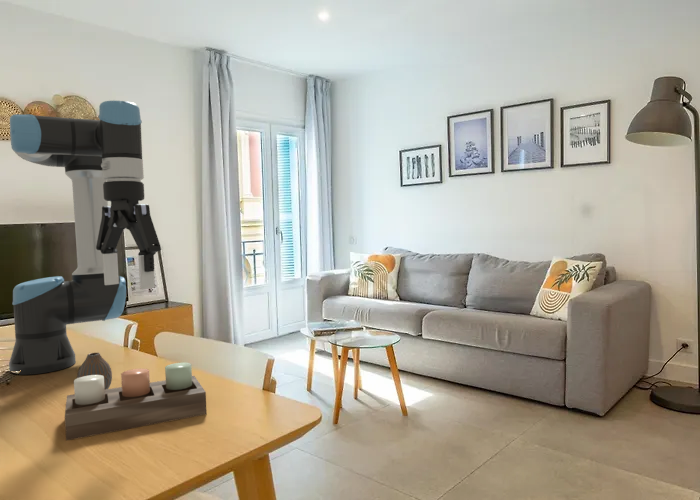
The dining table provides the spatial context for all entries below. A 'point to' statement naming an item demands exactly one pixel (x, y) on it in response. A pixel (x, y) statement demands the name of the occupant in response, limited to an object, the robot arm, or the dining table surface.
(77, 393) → the button cream
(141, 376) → the button terracotta
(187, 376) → the button sage
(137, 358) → the dining table surface
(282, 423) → the dining table surface
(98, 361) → the vase
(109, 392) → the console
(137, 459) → the dining table surface
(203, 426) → the dining table surface
